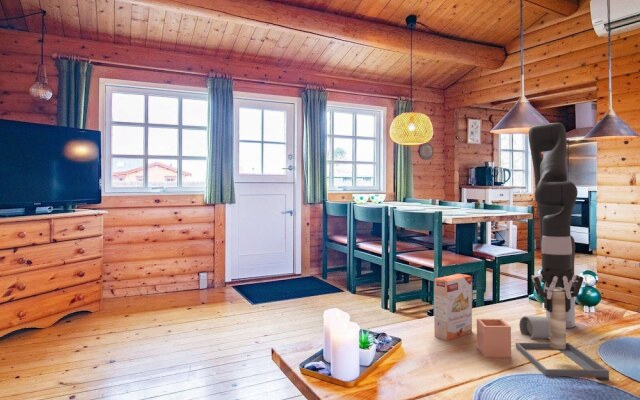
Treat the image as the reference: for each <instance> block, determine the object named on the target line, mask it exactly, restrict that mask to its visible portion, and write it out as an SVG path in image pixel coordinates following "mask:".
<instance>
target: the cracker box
mask: <svg viewBox="0 0 640 400" xmlns="http://www.w3.org/2000/svg"><path fill="white" fill-rule="evenodd" d="M433 282H434V283H433V285H434V286H433V287H434V288H433V289H434V291H433V292H434V293H433V296H434V297H433V298H434V302H433V303H434V310H433V311H434V313H433V314H434V317H433V318H434V337H435V338H438V339H441V340H443V341H447V342H448V341H451V340H454V339H456V338H460V337H463V336H465V335H468V334H470V333H472V332H473V312H472V311H473V276H472V275H469V274H464V273H463V274H462V273H456V274H451V275H446V276H440V277H436V278H434V280H433Z"/></svg>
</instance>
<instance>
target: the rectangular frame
mask: <svg viewBox="0 0 640 400" xmlns="http://www.w3.org/2000/svg"><path fill="white" fill-rule="evenodd" d="M515 349H516V350H518V351H519V352H520V354H522V355H523V356H524V357H525V358H526V359H527V360H528V361H529V362H530V363H531V364H532V365H534V366H535V368H537V369H538V370H539V371H540V372H541V373H542V374H543V376H545V377H546V376H547V377H593V378H595V380H598V381H609V380H610V370H609V369H607V368H605V366H603V365H601V364H600V363H599V362H597V361H596V360H595V359H593V358H591V357H590V356H588V355H587V354H586V353H584V352H583V351H581V350H580V349H579V348H577V347H575V346H574V345H573V344H571V343H570V342H566V348H565V349H557V350H558V351H559V352H560V353H562V354H563V355H564V356H565V357H567V358H568V359H569V360H571V361H572V362H574V363H575V364H576V365H577V366H578V367H580V368H578V369H577V368H575V369H574V368H570V369H569V368H546V367H545V366H544V365H543V364H542V363H541V362H539V360H537V359H536V358H535V357H534V356H533V355H532V354H531V353H530V352H528V351H527V350H526V349H554V348H553V347H551V346H550V342H515Z"/></svg>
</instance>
